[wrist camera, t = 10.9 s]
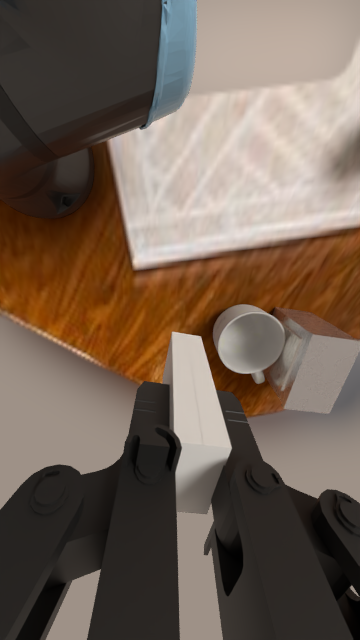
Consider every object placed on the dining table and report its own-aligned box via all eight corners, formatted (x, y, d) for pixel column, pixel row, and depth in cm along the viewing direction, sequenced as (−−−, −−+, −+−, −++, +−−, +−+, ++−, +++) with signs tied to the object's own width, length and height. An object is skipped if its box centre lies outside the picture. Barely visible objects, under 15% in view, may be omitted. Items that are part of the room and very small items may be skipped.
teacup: (207, 303, 43) (214, 318, 35) (267, 294, 42) (287, 307, 35) (214, 368, 48) (222, 394, 40) (268, 361, 47) (286, 385, 40)
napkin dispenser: (255, 364, 47) (283, 408, 36) (274, 305, 43) (312, 334, 31) (290, 368, 48) (329, 413, 36) (312, 311, 44) (364, 341, 32)
